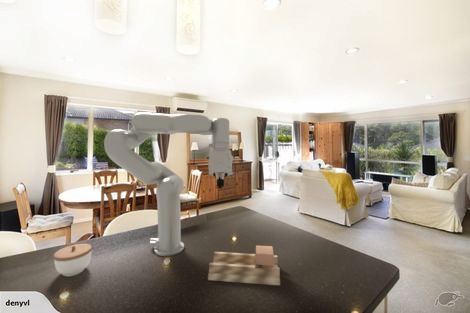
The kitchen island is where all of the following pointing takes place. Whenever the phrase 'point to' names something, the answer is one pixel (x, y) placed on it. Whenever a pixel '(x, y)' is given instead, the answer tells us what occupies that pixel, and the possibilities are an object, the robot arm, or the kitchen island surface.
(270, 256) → the block
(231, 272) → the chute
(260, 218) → the kitchen island surface
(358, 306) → the kitchen island surface
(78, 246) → the lidded jar
